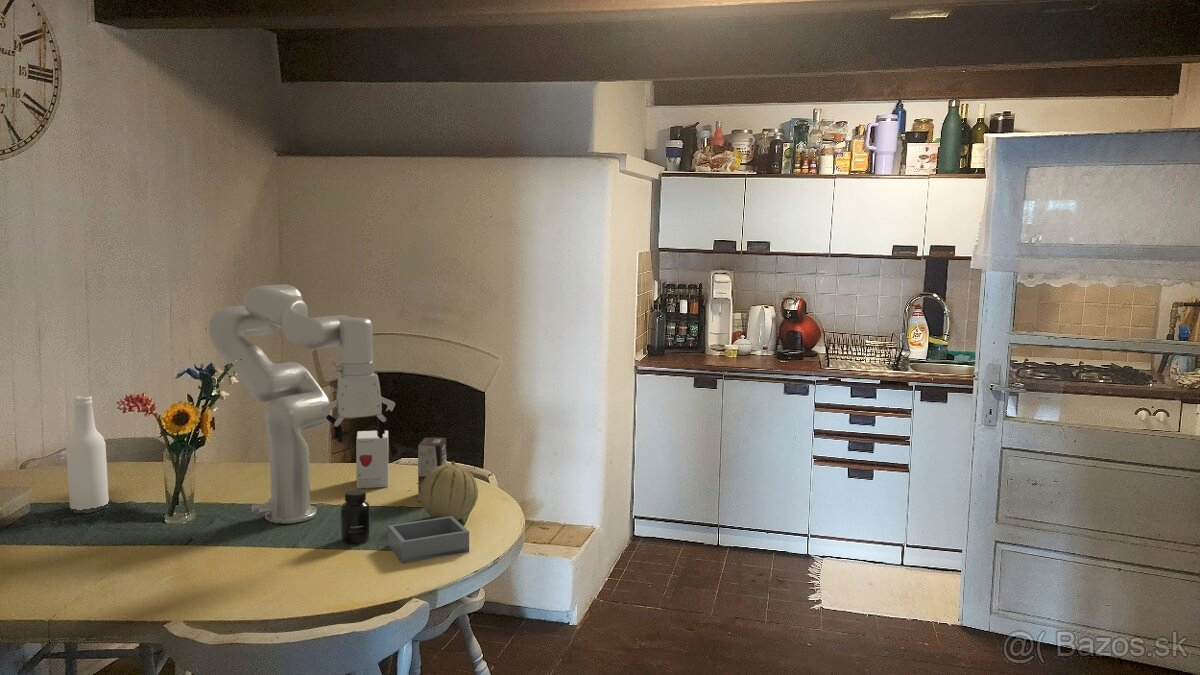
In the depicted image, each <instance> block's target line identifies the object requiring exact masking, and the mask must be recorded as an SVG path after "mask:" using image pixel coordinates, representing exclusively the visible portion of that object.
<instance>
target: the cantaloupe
mask: <svg viewBox="0 0 1200 675" xmlns="http://www.w3.org/2000/svg"><path fill="white" fill-rule="evenodd" d="M450 462H451V464H446V465H441V466H438V467H436V468H434V469H433V470H431V471H430V472H429V473H428V474H427V476H426V477H425V479H424V480H423V482H422V485H421V488H420V499H421V501H420V503H421V506H422V507H423V509H424V511H425V512H426V514H428V516H430V517H431V519H435V518H442V517H449V516H453V517H454V518H455V519H456V520H457V521H459V520H461V519H464V518H465V517H467V516H468V515H469V514H470V513H471V512H472V511H473V510H474V507H475V506H476V503H477V500H478V497H479V488H478V484H477V480H476V479H475V476H474V474H473V473H471V472H470V470H467V469H466V468H464V467H461V466H459V465H457V464H456V462H455V461H453V460H451V461H450Z"/></svg>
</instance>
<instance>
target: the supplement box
mask: <svg viewBox="0 0 1200 675" xmlns="http://www.w3.org/2000/svg"><path fill="white" fill-rule="evenodd" d="M355 445H356V447H355V448H356V449H355V450H356V451H355V453H356V455H355V458H356V459H355V460H356V470H355V471H356V489H369V488H370V489H371V488H388V487H389V430H385V434H383V438H379V437H378V436H377V430H363V431H362V430H358V431H356V443H355Z"/></svg>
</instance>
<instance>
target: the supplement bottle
mask: <svg viewBox="0 0 1200 675" xmlns="http://www.w3.org/2000/svg"><path fill="white" fill-rule="evenodd" d="M366 494H367V493H366V491H365V490H363V489H350V490H347V491H345V493H344V502H343V503H342V505H341V506H340V541H341V543H343V544H347V545H353V546H354V545H361V544H365V543H367V542H368V541H369V540H370V537H371V535H370V534H371V506H370V503H369V502H368V501H366V500H367V497H366Z"/></svg>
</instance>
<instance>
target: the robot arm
mask: <svg viewBox="0 0 1200 675" xmlns="http://www.w3.org/2000/svg"><path fill="white" fill-rule="evenodd" d="M243 303H244V305H235V306H234V305H233V306H228V307H224V308H221V309H217V310H216V311H215V312H214V313H213V314H212V315H211V316H210V319H209V320H208V321H209V322H208V331H209V336H210V341H211V342H212V345H213V346H214V348H215V350H216V351H217V352H218V354H219V355H220V356H221V357H222V358H223V359H224V360H225V361H226V362H227V363H228V364H229V365H230V364H231V363H233V362H234V363H233V364H232V365H234V369H233V370H234V371H235V373H236V375H237V376H238V377H239V378H240V380H241V381H242V383H243V384H244V385H245V387H246V388H247V389H248V391H249V392H250V394H251V396H253V398H254V399H256V401H258V402H261V403H268V404H267V406H266V407H265V409H264V412H263V413H264V414H263V417H264V419H263V420H264V423H265V424H264V425H265V428H266V433H267V438H268V446H269V468H270V469H269V471H270V473H269V474H270V475H269V476H270V498H268V501H267V502H264V503H263V504H262V503H261V504H259V503H258V504H252V505H251V511H252V512H251V513H258V515H260V514H264V517H265V520H266V521H267V520H268V521H267V522H269V521H270V522H269V523H272V522H273V524H279V523H281V525H286V524H287V525H288V524H298V523H302V522H306V521H309V520H311V519H313V518H314V517H316V516H317V512H318V511H317V508H316V507H315V506H313V505H311V487H310V485H311V483H310V482H311V481H310V477H311V476H310V450H309V445H308V442H307V441H306V439H305V438H304V437H303V434H302V432H304V431H307V430H310V429H311V430H312V429H314V428H318V427H321V426H324V425H326V424H327V423H328V422H329V423H331V425H333V432H334V433H333V436H334V439H335V440H336V441H337V442H338V443H342V442H343V434H342V433H343V432H342V425H341V424H342V422H343V420H344V419H358V418H366V417H367V418H368V417H369V418H370V417H377V421H376V431H377V436H378V437H379V438H383V434H385V431H386V428H385V427H386V426H385V425H386V424H385V423H386V421H387V420H388V418H389V417H390V416H391V415H392V414H393V411H394V408H395V407H396V402H395V401H393V400H391V399H388V398H385V397H384V396H382V393H381V386H380V380H379V379H380V378H379V376H378V374H377V373H375V371H374V367H375V366H374V343H373V342H374V340H373V337H374V336H373V335H374V334H373V323H372V321H371V319H369V318H367V317H352V316H349V315H345V314H336V315H325V316H317V317H309V316H308V315H309V314H308V312H309V310H308V306H307V304H306V303H305V301H304V300H303V296H302V294H301V292H300V291H299V289H297V287H295V286H293V285H290V284H287V283H286V284H272V285H271V284H269V285H267V284H266V285H259V286H255V287H253V288H252V289H250V290H249V291H247V293H246V294H245V296H244V301H243ZM279 329H280V330H281V332H282V334H283V335H284V338H286V339H287V340H288V341H289V342H290V343H293V344H295V345H297V346H300V347H302V348H305V349H309V350H321V349H327V348H332V347H333V348H334V347H339V348H340V350H339V351H340V364H338V365H335V366H334V372H338V373H340V375H338V378H337V386H336V399H334V400H333V401H330V399H329V397H328V396H327V394H326V393H325V391H324V390H323V389H322V387H321V386H320V385H319V384H318V382H317V381H316V379H315V378H314V377H313V375H312V373H311V372H309V370H308V369H307V368H306V367H305V366H304V365H302V364H300V363H299V362H295V361H288V362H287V361H286V362H282V363H281V362H279V363H275V362H273V361H271V359H269V358H268V356H267V354H266V353H265V352H264V351H263V350H262V349H261V348H260V346H257V345H256V344H255V343H253V342H251V341H249V340H248V339H246V338H252V337H260V336H268V335H270V334H273V333H275V332H276V331H278V330H279ZM239 359H242V360H243V361H242V360H239ZM236 360H237V361H236ZM235 361H236V362H235ZM382 404H383V405H386V406H387V408H386V409H385V410H384V411H383V412H382V410H383V408H382V407H383V406H382ZM333 409H336V413H337V415H336V416H335V417H333V416H332V414H333ZM297 522H298V523H297Z"/></svg>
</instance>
